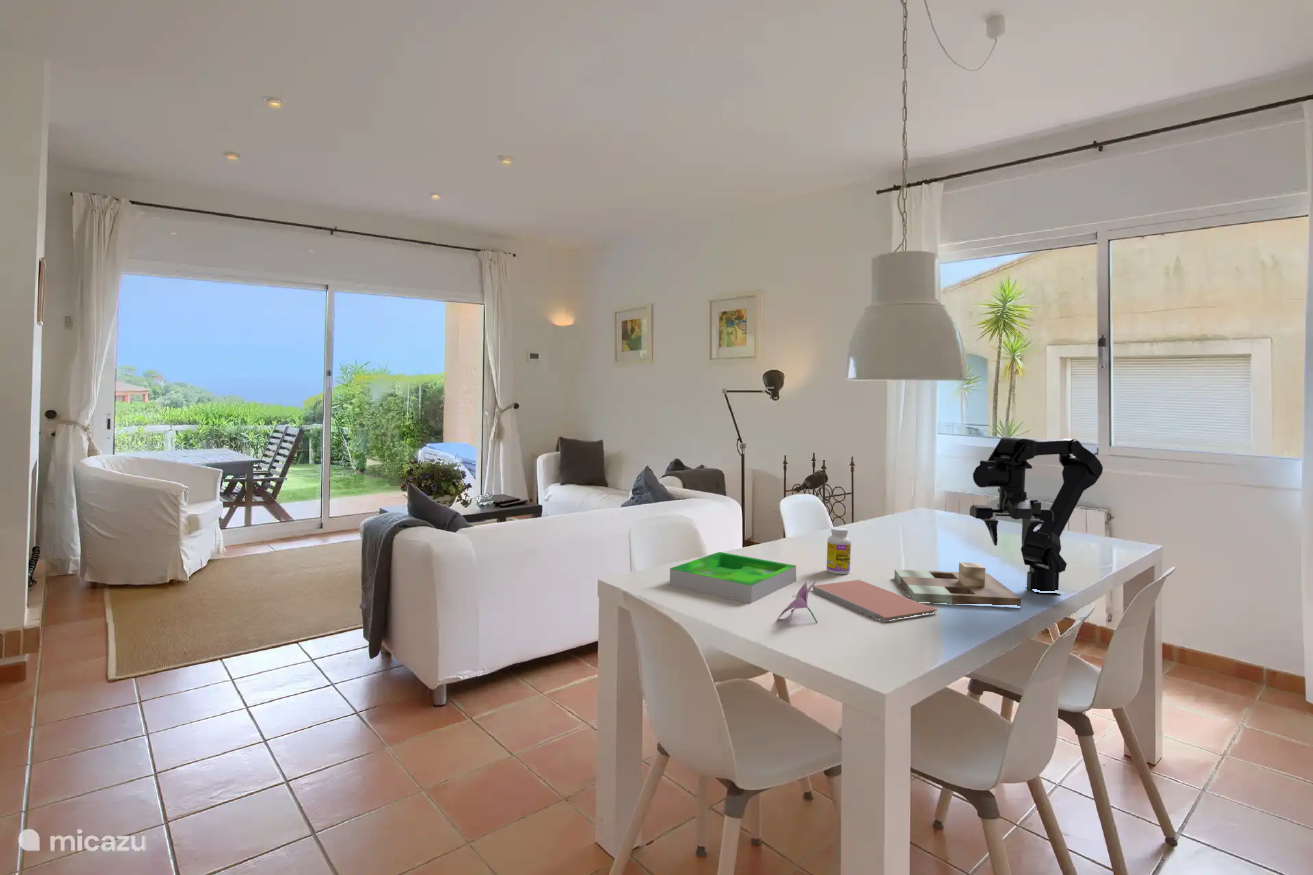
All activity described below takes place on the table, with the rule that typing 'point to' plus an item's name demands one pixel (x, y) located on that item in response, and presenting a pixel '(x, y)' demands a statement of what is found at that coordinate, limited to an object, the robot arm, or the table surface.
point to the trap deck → (953, 589)
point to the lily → (800, 600)
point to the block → (971, 574)
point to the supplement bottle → (838, 551)
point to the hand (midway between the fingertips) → (1009, 545)
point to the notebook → (872, 600)
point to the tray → (733, 576)
